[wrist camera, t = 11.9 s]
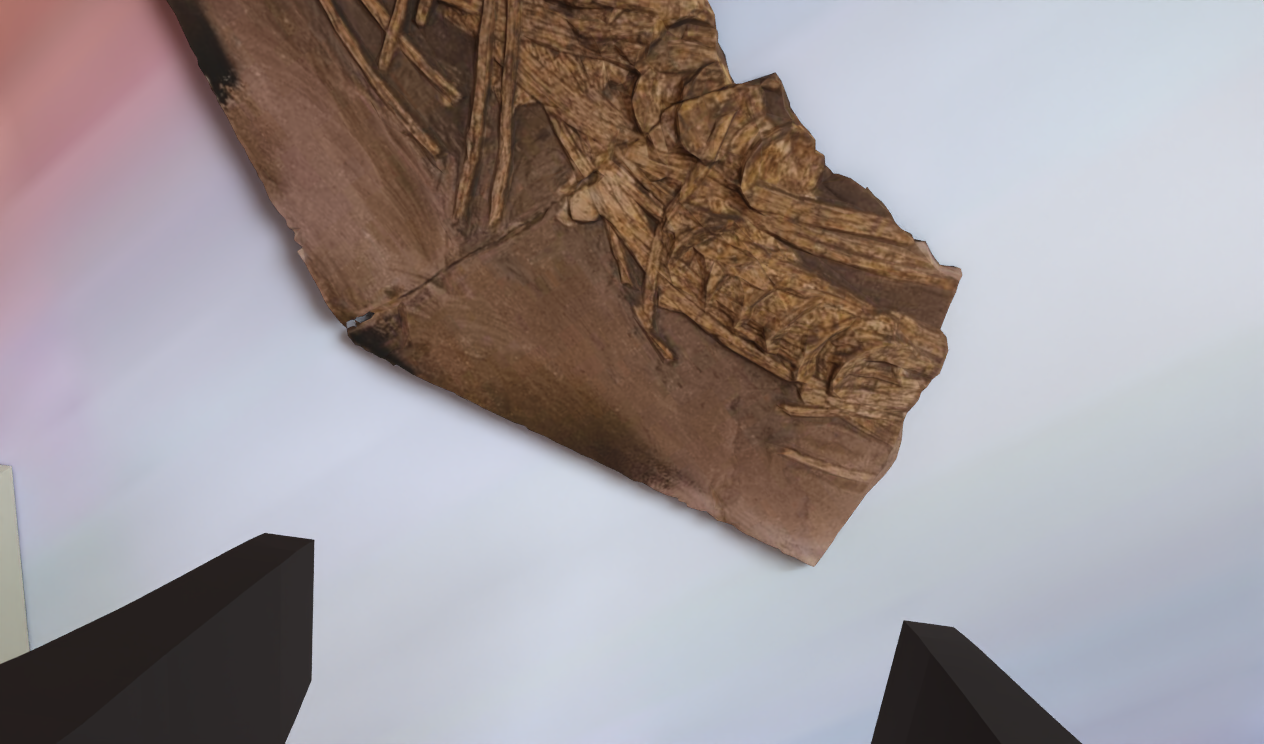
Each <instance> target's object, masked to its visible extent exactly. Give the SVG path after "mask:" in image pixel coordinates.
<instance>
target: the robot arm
mask: <svg viewBox="0 0 1264 744" xmlns="http://www.w3.org/2000/svg"><path fill="white" fill-rule="evenodd" d="M313 581H314V540H312V539H305V538H297V537H290V536H283V535H275V534H268V533H264V534H261V535H259V536H257V537H255V538H253V539H250V540H248V541H246V542H244V543H242V544H240V545H239V546H237V547H235V548H233V549H231V550H229V551H227V552H225V553H223V554H221V555H220V556H218V557H216V558H214V559H212V560H210V561H208V562H207V563H205V564H203V565H201V566H199V567H197V568H196V569H194V570H192V571H190V572H188V573H186V574H184V575H183V576H181V577H179V578H177V579H175V580H173V581H171V582H169V583H168V584H166V585H164V586H162V587H160V588H158V589H156V590H154V591H152V592H151V593H149V594H147V595H145V596H143V597H141V598H139V599H137V600H135V601H134V602H132V603H130V604H128V605H126V606H124V607H122V608H120V609H118V610H116V611H114V612H112V613H109V614H107V615H105V616H103V617H101V618H99V619H97V620H95V621H93V622H91V623H89V624H87V625H84V626H82V627H80V628H78V629H76V630H74V631H72V632H70V633H68V634H66V635H64V636H61V637H59V638H57V639H55V640H53V641H51V642H49V643H47V644H45V645H43V646H41V647H38V648H36V649H34V650H32V651H29V652H27V653H25V654H23V655H20V656H18V657H16V658H13V659H11V660H8V661H6V662H4V663H1V664H0V744H285V742H286V739H287V737H288V735H289V733H290V730H291V728H292V726H293V724H294V721H295V719H296V717H297V714H298V712H299V709H300V707H301V704H302V702H303V700H304V697H305V695H306V692H307V690H308V688H309V685H310V683H311V676H312V629H313ZM871 744H1082V743H1081V742H1080V741H1079V740H1077V739H1076V738H1075V737H1074V736H1073V735H1072V734H1071V733H1070V732H1068V731H1067V730H1066V729H1065V728H1064V727H1063V726H1062V725H1061V724H1060V723H1059V722H1057V721H1056V720H1055V719H1054V718H1053V717H1052V716H1051V715H1050V714H1049V713H1048V712H1047V711H1045V710H1044V709H1043V708H1042V707H1041V706H1040V705H1039V704H1038V703H1037V702H1036V701H1035V700H1034V699H1033V698H1031V697H1030V696H1029V695H1028V694H1027V693H1026V692H1025V691H1024V690H1023V689H1022V688H1021V687H1020V686H1019V685H1018V684H1016V683H1015V682H1014V681H1013V680H1012V679H1011V678H1010V677H1009V676H1008V675H1007V674H1006V673H1005V672H1004V671H1003V670H1002V669H1000V668H999V667H998V666H997V665H996V664H995V663H994V662H993V661H992V660H991V659H990V658H989V657H988V656H986V655H985V654H984V653H983V652H982V651H981V650H980V649H979V648H978V647H977V646H975V645H974V644H973V643H972V642H971V641H970V640H969V639H967V638H966V637H965V636H964V635H963V634H961V633H960V632H959V631H958V630H957V629H955V628H954V627H948V626H941V625H934V624H926V623H919V622H912V621H903V625H902V629H901V632H900V636H899V640H898V644H897V647H896V651H895V655H894V659H893V663H892V666H891V670H890V674H889V678H888V681H887V685H886V689H885V693H884V697H883V700H882V704H881V708H880V712H879V716H878V719H877V723H876V727H875V731H874V734H873V738H872V742H871Z"/></svg>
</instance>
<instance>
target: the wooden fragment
mask: <svg viewBox="0 0 1264 744" xmlns="http://www.w3.org/2000/svg"><path fill="white" fill-rule="evenodd" d="M167 2H168V3H169V5H170V6H171V8H172V9H173V11H174V13H175V14H176V16H177V18H178V21H179V23H180V25H181V27H182V29H183V31H184V34H185V36H186V38H187V40H188V42H189V45H190V47H191V49H192V50H193V52H194V54H195V55H196V57H197V59H198V65H199V67H200V69H201V70H202V72H203V73H204V75H205V76H206V78H207V80H208V81H209V84H210V86H211V89H212V91H213V92H214V93H215V95H216V96H217V100H218V102H219V104H220V106H221V107H222V109H223V111H224V113H225V114H226V116H227V118H228V120H229V122H230V124H231V125H232V127H233V129H234V131H235V134H236V136H237V138H238V140H239V141H240V143H241V144H242V146H243V147H244V149H245V151H246V153H247V155H248V158H249V160H250V161H251V163H252V164H253V166H254V168H255V169H256V171H257V174H258V176H259V178H260V179H261V181H262V182H263V184H264V186H265V189H266V192H267V194H268V197H269V199H270V200H271V202H272V203H273V205H274V206H275V208H276V209H277V210H278V212H279V213H280V214H281V215H282V216H283V217H284V218H285V219H286V222H287V226H288V227H289V228H290V229H292V230H293V231H294V233H295V237H294V241H296V242H297V243H298V244H299V245H301V246H302V247H303V248H301V249H300V250H298V251H297V252H298V253H299V255H300V256H301V258H302V259H303V261H304V262H305V264H306V266H307V268H308V270H309V272H310V274H311V275H312V277H313V279H314V281H315V283H316V284H317V286H318V288H319V290H320V292H321V294H322V296H323V298H324V300H325V302H326V304H327V306H328V307H329V309H330V310H331V311H332V312H333V314H334V315H335V316H336V318H337V319H338V320H339V321H340V322H341V323H342V324H343V326H345V327H346V328H347V323H346V322H348V321H350V320H355V319H356V317H360V316H363V315H365V314H366V313H368V312H369V311H370V312H373V313H375V314H374V315H373V316H372V318H371V319H368V320H366V321H364V322H361V323H359V322H358V321H356V320H355V322H356V325H357V327H355V326H352V327H349V328H347V332H348V336H349V338H350V339H351V340H352V341H353V343H354V344H355V345H358V346H361V347H362V348H363V349H365V350H366V351H368V352H371V353H373V354H375V355H377V356H378V357H380V358H383V359H386V360H387V361H388V362H390V363H391V364H392V365H393V366H394V365H399V366H400V367H402V368H403V369H405V370H407V371H408V372H410V373H411V374H413V375H415V376H417V377H419V378H422V379H424V380H426V381H428V382H430V383H432V384H434V385H437V386H439V387H441V388H444V389H446V390H449V391H451V392H454V393H455V394H457V395H458V396H460V397H462V398H465V399H467V400H469V401H471V402H473V403H475V404H477V405H479V406H481V407H483V408H485V409H487V410H489V411H491V412H493V413H495V414H497V415H499V416H502V417H504V418H506V419H508V420H510V421H512V422H515V423H518V424H521V425H524V426H526V427H527V428H528V429H529V430H531V431H534V432H536V433H539V434H541V435H544V436H546V437H548V438H549V439H551V440H553V441H555V442H557V443H559V444H561V445H563V446H566V447H568V448H570V449H572V450H574V451H576V452H578V453H580V454H581V455H584V456H586V457H589V458H591V459H593V460H595V461H597V462H599V463H601V464H603V465H605V466H608V467H610V468H612V469H614V470H616V471H618V472H620V473H621V474H623V475H625V476H627V477H628V478H630V479H632V480H633V481H638V482H643V483H644V484H646V485H648V486H649V487H651V488H653V489H655V490H656V491H659V492H661V493H663V494H665V495H668V496H671V497H677V498H678V500H679V501H680V502H686V504H687V506H688V507H691V508H694V509H697V510H700V511H707V512H708V513H709V514H710V515H711V516H713V517H714V518H715V519H716V520H718V521H722V522H725V523H728V524H731V525H733V526H735V527H736V528H737V529H738V530H740V531H741V532H743V533H745V534H747V535H749V536H751V537H754V538H755V539H757V540H759V541H761V542H763V543H766V544H768V545H770V546H772V547H775V548H778V549H780V550H781V552H782V553H784V554H787V555H790V556H792V557H795V558H797V559H799V560H800V561H802V562H804V563H806V564H808V565H811V566H813V567H814V566H815V565H816V564H817V562H818V561H819V560H820V558H821V557H822V556H823V554H824V553H825V552H826V550H827V549H828V547H829V546H830V545H831V543H832V542H833V540H834V538H835V537H836V535H837V533H838V532H839V531H840V529H841V528H842V527H843V526H844V524H845V523H846V521H847V520H848V519H849V517H850V516H851V515H852V513H853V512H854V510H855V509H856V508H857V506H858V505H859V503H860V502H861V501H862V499H863V498H864V497H865V495H866V494H867V493H868V492H869V491H870V490H871V489H872V488H873V486H874V485H875V484H876V483H877V482H878V481H879V480H880V479H881V478H882V477H883V476H884V475H885V474H886V472H887V471H888V470H889V469H890V467H891V466H892V464H893V463H894V461H895V460H896V458H897V454H898V451H899V447H900V444H901V440H902V430H903V421H904V418H905V416H906V414H907V412H908V411H909V410H910V409H911V408H912V407H913V406H914V405H915V403H916V402H917V401H918V400H919V397H920V394H921V392H922V391H923V390H924V389H925V388H926V387H927V386H928V385H929V383H930V382H931V380H932V379H933V378H935V377H936V376H937V375H939V374H940V371H941V368H942V366H943V363H944V361H945V358H946V355H947V353H948V345H947V337H946V336H945V335H944V334H943V332H942V331H941V330H940V328H941V326H942V323H943V321H944V318H945V316H946V313H947V311H948V308H949V306H950V303H951V301H952V299H953V297H954V295H955V293H956V290H957V286H958V283H959V280H960V279H961V277H962V272H961V269H960V268H957V267H954V266H943V265H939V263H938V262H937V260H936V259H935V258H934V256H933V255H932V253H931V251H930V249H929V247H928V245H927V243H926V241H921V240H916V239H913V237H912V234H910V233H908V232H906V231H904V230H902V229H901V228H900V227H899V226H898V225H897V224H896V223H895V221H894V219H893V217H892V215H891V213H890V212H889V210H888V209H887V208H886V206H885V205H884V204H883V203H882V201H880V200H879V199H878V198H877V197H875V196H874V195H873V194H872V192H871V191H870V190H869V189H868V187H867V188H866V189H865V188H863V187H862V186H861V185H859V184H858V183H857V182H855V181H854V180H852V179H851V178H848V177H845V176H843V175H840V174H833V173H832V171H831V170H830V169H829V168H828V167H827V166H826V165H825V156H824V155H823V154H821V153H820V152H818V151H817V150H815V139H814V138H813V136H812V135H811V133H810V132H809V131H808V130H807V129H806V128H805V127H804V126H803V125H802V124H801V122H800V121H799V119H798V118H797V116H796V115H795V113H794V112H793V110H792V109H791V108H790V102H789V100H788V97H787V94H786V92H785V89H784V87H783V84H782V82H781V80H780V78H779V77H778V75H777V74H776V73H773V74H770V75H767V76H764V77H761V78H758V79H755V80H752V81H748V82H745V83H742V84H735V83H734V81H733V79H732V78H731V76H730V74H729V70H728V66H727V62H726V57H725V54H724V52H723V51H722V49H721V47H720V45H719V43H718V31H717V30H716V23H715V14H714V12H713V10H712V8H711V6H710V4H709V2H708V0H167Z"/></svg>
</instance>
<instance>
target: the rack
mask: <svg viewBox="0 0 1264 744" xmlns="http://www.w3.org/2000/svg"><path fill="white" fill-rule="evenodd" d="M27 652H29V641H28V630H27V620H26V610H25V600H24V589H23V579H22V569H21V558H20V548H19V538H18V527H17V517H16V507H15V496H14V486H13V476H12V466H6V465H0V664H1V663H4V662H6V661H8V660H11V659H13V658H16V657H18V656H20V655H23V654H25V653H27Z"/></svg>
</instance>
